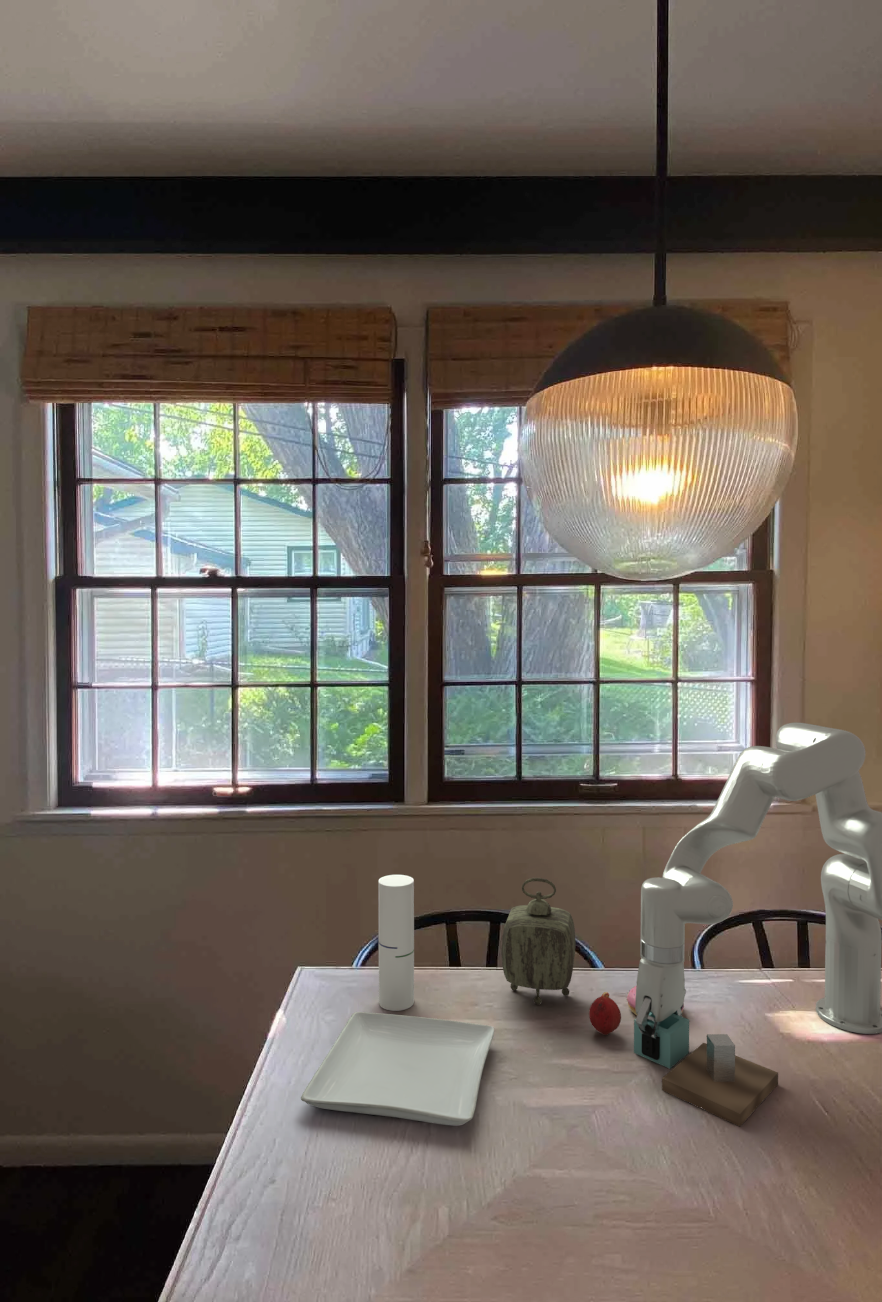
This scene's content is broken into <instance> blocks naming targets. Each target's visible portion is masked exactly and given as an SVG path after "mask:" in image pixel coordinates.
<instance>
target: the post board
mask: <svg viewBox="0 0 882 1302" xmlns="http://www.w3.org/2000/svg"><path fill="white" fill-rule="evenodd" d="M778 1085H779V1072H777V1071H775V1070H772V1069H770V1068H767V1067H765V1066H763V1065H760V1064H758V1063H755V1062H753V1061H751V1060H748V1059H745V1058H742V1057H741V1056H739V1055H736V1045H735V1043H734V1041H732V1039H731V1038H730V1035H728V1034H727V1033H726V1034H724V1033H721V1034H720V1033H718V1034H717V1033H711V1034H710V1033H709V1034H706V1042H702V1043H701V1044H700V1045H699V1046H697V1047H696V1048H695V1049H694V1050H693V1051H692V1052H690V1053H689V1054H687V1055H686V1057H684V1059H683V1060H681V1061H679V1063H677V1064H676V1065H675V1067H672V1068H671V1070H670V1071H668V1073H666V1074H665V1075H664V1076H663V1077H662V1078H661V1091H662V1092H665V1093H667V1094H669V1095H672V1096H673V1097H675V1096H676V1097H675V1098H678V1099H680V1100H682V1101H684V1100H685V1102H686V1101H687V1102H686V1103H688V1102H690V1103H692V1104H691V1105H693V1104H694V1105H693V1106H695V1105H696V1106H695V1107H697V1106H698V1107H697V1108H699V1107H702V1108H703V1109H705V1110H706V1112H707V1111H708V1112H707V1113H710V1114H712V1115H715V1116H717V1117H718V1118H721V1119H723V1120H725V1121H727V1122H729V1123H731V1124H733V1125H736V1126H738V1127H741V1126H742V1125H743V1124H744V1123H745V1122H746V1121H747V1119H749V1117H750V1116H751V1115H752V1114H753V1113H754V1112H755V1111H756V1110H757V1108H758V1107H760V1105H761V1104H762V1102H764V1101H765V1100H766V1099H767V1097H768V1096H769V1095H770V1094H772V1092H773V1090H775V1089H776V1087H778ZM690 1103H689V1104H690ZM703 1109H702V1110H703ZM705 1110H704V1111H705Z"/></svg>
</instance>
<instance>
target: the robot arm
mask: <svg viewBox="0 0 882 1302" xmlns="http://www.w3.org/2000/svg"><path fill="white" fill-rule="evenodd" d="M775 745H776V746H775V747H776V748H774V747H770V746H765V745H764V746H763V745H762V746H761V745H751V746H748V747H746V748H744V749H743V750H742V751H741V752H740V754H739V755H738V757H737V759H736V760H735V763H734V765H733V767H732V769H731V771H730V773H729V775H728V777H727V780H726V782H725V784H724V786H723V788H722V790H721V793H720V794H719V797H718V798H717V800H716V803H715V804H714V807H713V808H712V811H711V812H710V814H709V815H708V816H707V817H706V818H704V819H703V820H702V821H700V822H698V824H696V825H695V826H694V827H692V829H690V830H689V831H688V832H687V833H686V834H684V836H682V838H681V839H679V841H678V842H677V844H676V845H675V847H674V849H673V851H672V853H671V854H670V857H669V858H668V861H667V863H666V865H665V868H664V870H663V873H662V877H658V876H657V877H650V878H647V879H645V880H644V881H643V883H642V885H641V888H640V958H641V959H640V960H639V965H638V970H637V977H636V985H635V986H636V1001H635V1011H636V1014H638V1015H636V1017H635V1019H636V1024H637V1025H638V1027H639V1029H640V1032H641V1033H642V1054H643V1055H646V1056H648V1057H650V1058H653V1059H655V1060H658V1059H659V1058H660V1037H658V1036H657V1035H658V1031H659V1026H660V1022H661V1021H663V1020H665V1019H666V1018H667V1017H669V1016H670V1015H671V1014H676V1015H679V1016H681V1017H683V1012H682V1011H681V1010H682V1007H683V1004H684V1005H685V1003H684V1002H685V996H686V995H687V994H686V993H687V989H686V988H685V984H686V983H685V968H684V967H685V965H684V962H685V941H686V940H685V937H686V936H685V933H686V932H685V928H686V926H685V924H699V925H700V924H701V925H715V924H720V923H722V922H723V921H726V919H728V917H729V916H730V915H731V914H732V911H733V907H734V902H733V898H732V895H731V893H730V892H729V891H728V889H727V888H726V887H725V886H723V885H722V884H720V882H717V881H715V880H713V879H711V878H710V877H708V876H706V875H704V874H702V871H703V869H704V867H705V865H706V863H707V862H708V861H709V859H710V858H711V857H712V855H714V854H715V853H716V852H718V851H719V850H721V849H723V848H725V847H727V846H731V845H735V844H739V843H740V844H741V843H743V842H747V841H752V840H754V839H755V838H756V837H757V836H758V834H759V832H760V829H761V827H762V826H763V823H764V820H765V818H766V817H767V814H768V812H769V810H770V809H771V805H772V804H773V801H774V800H775V798H779V799H782V800H784V801H787V802H788V801H789V802H790V801H791V802H796V801H801V800H805V799H808V798H810V797H812V796H814V795H815V801H816V808H817V814H818V818H819V826H820V831H821V835H822V838H823V841H824V842H825V843H826V845H827V846H828V847H830V848H831V849H833V850H835V851H837V852H839V853H840V854H839V853H838V854H835V855H833V856H831V857H829V858H828V859H827V860H826V861H825V863H823V866H822V868H821V872H820V886H821V891H822V896H823V901H824V907H825V909H824V910H825V953H824V954H825V957H824V958H825V959H824V960H825V962H824V965H825V966H824V997H822V998H820V999H818V1000H817V1001H816V1003H815V1012H816V1014H817V1016H818V1017H819V1018H820V1019H821V1020H823V1021H824V1022H826V1023H827V1024H829V1025H831V1026H834V1027H835V1028H837V1029H841V1030H843V1031H847V1032H851V1033H857V1034H862V1035H863V1034H864V1035H875V1034H876V1035H878V1034H880V1033H882V1009H881V985H882V983H881V979H882V977H881V975H882V927H881V924H880V921H882V811H879V810H874V809H873V808H871V807H870V806H869V804H868V801H867V797H866V791H865V788H864V784H863V783H864V782H863V778H862V776H861V773H860V769H861V768H863V765H864V763H865V760H866V748H865V744H864V742H862V739H861V738H859V736H857V735H856V734H854V733H853V732H851V731H848V730H844V729H841V728H840V729H839V728H833V727H827V726H822V725H818V724H811V723H805V722H790V723H785V724H783V725H782V726H780V727H779V729H778V730H777V731H776V734H775ZM879 920H880V921H879ZM650 1012H651V1013H653V1014H654V1015H655V1018H654V1017H652V1016H649V1013H650ZM648 1020H651V1021H654V1026H653V1029H652V1027H651V1026H650V1025H648Z"/></svg>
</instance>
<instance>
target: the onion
mask: <svg viewBox="0 0 882 1302" xmlns="http://www.w3.org/2000/svg"><path fill="white" fill-rule="evenodd" d="M588 1015H589V1016H588V1017H589V1022H590V1024H591V1026H592V1027H593V1028H594V1029H595V1031H596V1032H598V1033H599V1034H601V1035H603V1036H608V1035H610V1034H611V1033H613V1032H614V1031H616V1030H617V1029H618V1027H619V1026H620V1024H621V1023H622V1022H621V1020H622V1013H621V1010H620V1008H619V1006H618V1004H617V1003H616V1001H614V1000H613V999H612V998H611V997H610V993H609V992H608V991H604V992H603V993H602V994H601V995H600V996H598V997H597V998H595V1000H593V1002H592V1003H591V1004H590V1007H589V1011H588Z"/></svg>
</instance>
